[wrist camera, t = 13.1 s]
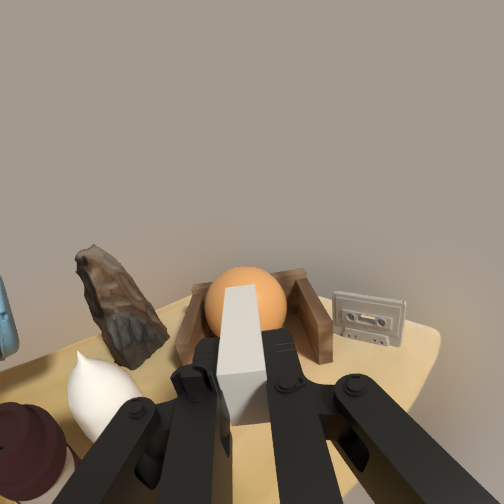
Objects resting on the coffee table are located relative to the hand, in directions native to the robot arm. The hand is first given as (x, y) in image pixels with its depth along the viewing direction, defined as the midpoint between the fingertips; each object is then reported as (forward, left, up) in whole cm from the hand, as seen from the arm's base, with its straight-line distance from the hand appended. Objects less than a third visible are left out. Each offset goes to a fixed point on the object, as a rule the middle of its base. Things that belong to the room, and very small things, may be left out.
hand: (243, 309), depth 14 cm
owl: (-23, +27, -20) cm, 41 cm away
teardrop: (-21, +9, -20) cm, 30 cm away
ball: (-2, +26, -13) cm, 30 cm away
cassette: (+17, +21, -20) cm, 33 cm away
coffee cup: (-19, -7, -20) cm, 28 cm away
